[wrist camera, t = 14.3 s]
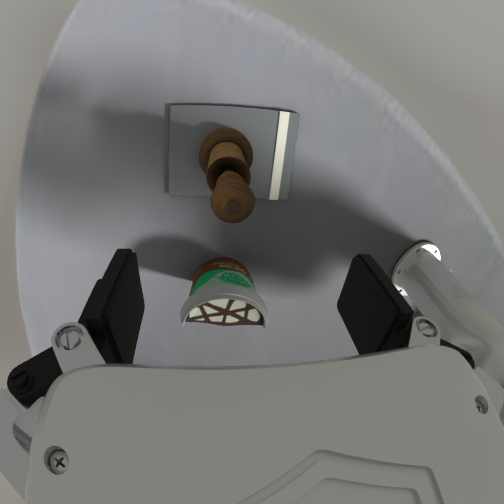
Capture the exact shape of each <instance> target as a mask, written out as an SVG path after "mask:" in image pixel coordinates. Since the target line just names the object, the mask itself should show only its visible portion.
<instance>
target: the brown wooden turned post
mask: <svg viewBox="0 0 504 504" xmlns="http://www.w3.org/2000/svg"><path fill="white" fill-rule="evenodd" d="M252 161H253V150H252V147H251V144H250V142H249V141H248V139H247V138H246V136H245V135H244V134H242V133H241V132H240V131H238V130H236V129H232V128H220V129H217V130H215V131H213V132H211V133H210V134H209V135H208V136H207V137H206V138H205V139H204V141H203V143H202V145H201V147H200V151H199V163H200V166H201V169H202V170H203V172H204V173H205V174H206V181H207V185H208V187H209V188H210V190H211V191H212V192H213V193H212V196H211V206H212V210H213V212H214V213H215V215H216V216H217V217H218V218H219V219H221V220H223V221H225V222H228V223H237V222H241V221H243V220H244V219H246V218H247V217H248V216H249V215H250V214H251V212H252V210H253V208H254V204H255V198H254V194H253V192H252V190H251V188H250V187H249V185H250V181H251V173H250V170H249V169H250V167H251V165H252Z"/></svg>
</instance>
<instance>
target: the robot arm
mask: <svg viewBox="0 0 504 504" xmlns="http://www.w3.org/2000/svg"><path fill="white" fill-rule="evenodd" d="M391 281H392V282H391ZM402 295H404V296H406V295H408V296H409V297H410V298H411V300H412V301H413V302H414V304H415V305H416V306H417V308H418V309H419V310H420V312H421V313H422V315H423V316H424V317H423V316H419V317H416V318H415V319H414V320H413V318H412V315H413V313H414V311H413V310H412V309H411V307H410V306H409V304H408V303H407V302H406V300H405V299H404V298H403V296H402ZM144 306H145V305H144V298H143V293H142V287H141V281H140V275H139V269H138V262H137V256H136V253H132V250H131V249H117V250H116V252H115V254H114V256H113V258H112V260H111V262H110V264H109V266H108V268H107V270H106V272H105V274H104V276H103V278H102V279H99V280H98V281H97V282H96V284H95V286H94V288H93V290H92V292H91V294H90V297H89V299H88V301H87V303H86V305H85V307H84V310H83V312H82V314H81V316H80V319H79V321H78V323H76V322H70V323H66V324H63V325H61V326H60V327H58V328H57V329H56V330H55V332H54V333H53V335H52V339H51V343H52V347H50V348H48V349H47V350H45V351H43V352H41V353H40V354H38V355H36V356H34V357H32V358H31V359H29V360H28V361H25V362H24V363H22V364H20V365H18V366H17V367H15V368H14V369H13V370H12V371H11V373H10V374H9V377H8V380H7V386H8V387H7V389H5V390H4V389H3V388H2V389H1V390H0V471H1V472H2V473H3V475H4V476H5V477H6V478H7V480H8V481H9V482H10V484H11V485H12V486H13V487H14V488H15V490H16V491H17V492H18V493H19V494H20V495H21V497H22V498H23V499H24V500H25V504H504V328H503V327H502V326H501V325H500V324H499V323H498V322H497V321H496V320H495V319H494V318H493V317H492V316H491V315H490V314H489V313H488V312H487V311H486V310H485V309H484V307H483V306H482V305H481V304H480V303H479V302H478V301H477V299H476V298H475V297H474V296H473V295H472V294H471V293H470V291H469V290H468V289H467V288H466V287H465V286H464V285H463V284H462V283H461V282H460V281H459V280H458V278H457V277H456V276H455V275H454V274H453V273H452V272H451V268H450V267H446V266H445V265H444V264H443V263H442V262H441V261H440V252H439V249H438V248H437V247H436V246H435V245H434V244H433V243H430V242H423V243H419V244H417V245H415V246H413V247H411V248H410V249H409V250H408V251H406V252H405V253H404V254H403V256H402V257H401V258H400V259H399V261H398V262H397V264H396V266H395V268H394V270H393V274H392V279H391V280H390V279H389V278H388V277H387V275H386V274H385V273H384V271H383V270H382V269H381V268H380V266H379V265H378V264H377V263H376V261H375V260H374V259H373V258H372V256H371V255H369V254H358V255H357V256H356V257H354V258H353V260H352V262H351V265H350V268H349V271H348V274H347V277H346V280H345V283H344V286H343V289H342V291H341V294H340V297H339V300H338V302H337V309H338V311H339V313H340V315H341V317H342V319H343V321H344V323H345V325H346V327H347V330H348V332H349V334H350V336H351V338H352V340H353V342H354V344H355V346H356V348H357V351H358V353H359V355H358V356H351V357H344V358H336V359H328V360H319V361H310V362H299V363H287V364H273V365H255V366H164V365H144V364H132V363H133V358H134V353H135V349H136V344H137V339H138V335H139V330H140V326H141V322H142V317H143V313H144Z"/></svg>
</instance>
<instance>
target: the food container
mask: <svg viewBox="0 0 504 504" xmlns="http://www.w3.org/2000/svg"><path fill="white" fill-rule="evenodd" d="M180 317H181V323H183V327H184V323H185V321H187V322H203V323H210V324H216V325H222V326H232V325H263V327H264V329H265V331H266V327H267V321H268V311H267V307H266V305H265V303H264V301H263V300H262V299H261V297H260V296H258V295H257V293H256V290H255V288H254V285H253V282H252V279H251V277H250V274H249V272H248V270H247V269H246V268H245V266H244V265H242V264H241V263H239V262H238V261H236V260H233V259H229V258H217V259H213V260H210V261H208V262H206V263H204V264H203V265H202V266H201V267H200V268H199V269H198V270H197V272H196V273H195V276H194V279H193V283H192V287H191V291H190V295H189V298H188V299H187V300H186V301H185V303H184V304H183V306H182V309H181V313H180Z"/></svg>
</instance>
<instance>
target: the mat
mask: <svg viewBox="0 0 504 504" xmlns="http://www.w3.org/2000/svg"><path fill="white" fill-rule="evenodd" d="M299 118H300V114H298V113H292V112H284V111H277V110H268V109H258V108H247V107H233V106H213V105H170V127H169V196H209V197H211V196H212V193H213V192H212V191H211V190H210V188H209V187H208V185H207V181H206V174H205V173H204V172H203V170H202V169H201V166H200V163H199V151H200V147H201V145H202V143H203V141H204V139H205V138H206V137H207V136H208V135H209V134H210V133H211V132H213V131H215V130H217V129H220V128H232V129H236V130H238V131H240V132H241V133H242V134H244V135H245V136H246V138H247V139H248V141H249V142H250V144H251V147H252V150H253V161H252V165H251V167H250V169H249V170H250V173H251V181H250V185H249V187H250V188H251V190H252V192H253V194H254V198H260V199H269V200H288V194H289V188H290V181H291V174H292V168H293V161H294V154H295V147H296V140H297V133H298V126H299Z"/></svg>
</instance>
